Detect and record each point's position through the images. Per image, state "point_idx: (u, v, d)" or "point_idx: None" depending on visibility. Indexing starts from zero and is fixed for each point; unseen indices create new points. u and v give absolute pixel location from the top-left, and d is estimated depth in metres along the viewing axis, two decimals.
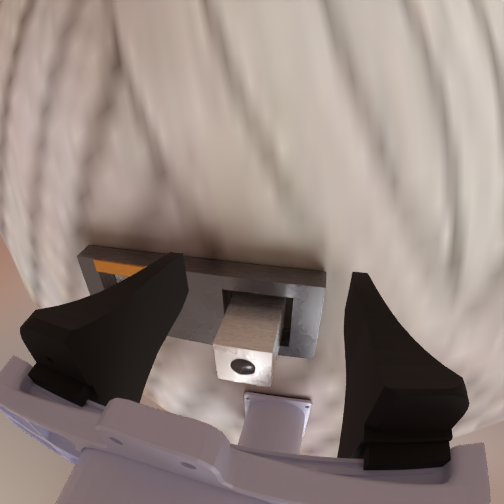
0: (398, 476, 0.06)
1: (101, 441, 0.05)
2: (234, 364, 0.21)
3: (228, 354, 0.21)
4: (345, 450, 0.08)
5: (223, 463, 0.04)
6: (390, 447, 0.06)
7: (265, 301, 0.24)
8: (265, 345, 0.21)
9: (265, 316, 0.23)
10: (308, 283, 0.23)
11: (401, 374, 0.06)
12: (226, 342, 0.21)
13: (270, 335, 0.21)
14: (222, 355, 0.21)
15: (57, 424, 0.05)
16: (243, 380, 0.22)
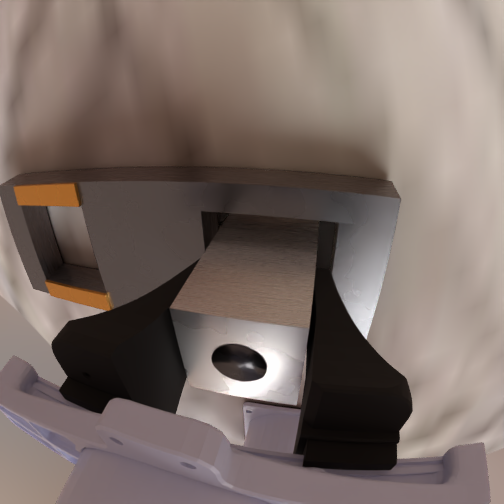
0: None
1: (101, 441, 0.05)
2: (220, 358, 0.10)
3: (205, 335, 0.09)
4: (295, 446, 0.08)
5: (223, 463, 0.04)
6: (330, 445, 0.06)
7: (284, 233, 0.13)
8: (291, 311, 0.09)
9: (286, 257, 0.11)
10: (368, 191, 0.11)
11: (336, 370, 0.06)
12: (200, 306, 0.09)
13: (300, 291, 0.10)
14: (193, 336, 0.09)
15: (57, 424, 0.05)
16: (240, 392, 0.11)
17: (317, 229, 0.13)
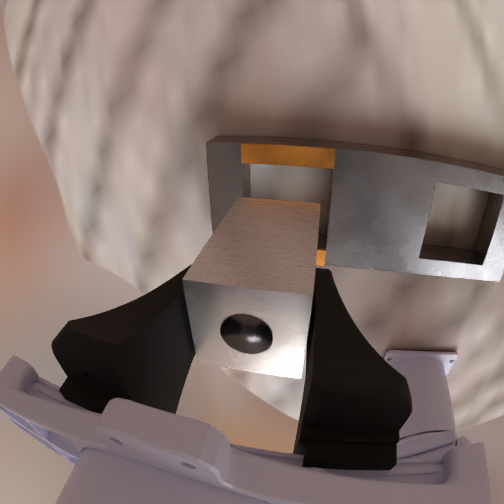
0: None
1: (101, 441, 0.05)
2: (229, 329, 0.10)
3: (215, 305, 0.10)
4: (295, 446, 0.08)
5: (223, 463, 0.04)
6: (330, 445, 0.06)
7: (287, 217, 0.14)
8: (296, 281, 0.10)
9: (289, 237, 0.12)
10: None
11: (336, 370, 0.06)
12: (211, 277, 0.10)
13: (304, 264, 0.10)
14: (203, 307, 0.10)
15: (57, 424, 0.05)
16: (246, 365, 0.11)
17: (318, 214, 0.14)
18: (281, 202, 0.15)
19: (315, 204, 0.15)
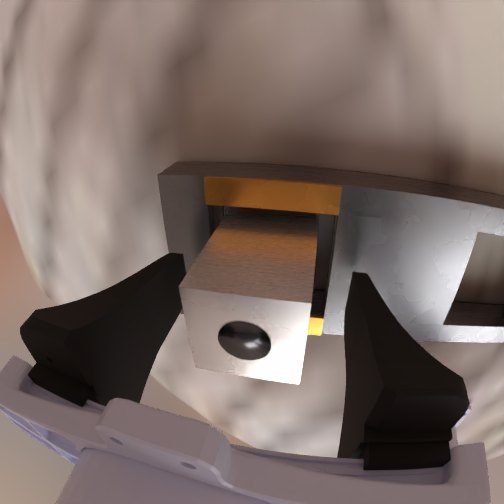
0: (398, 476, 0.06)
1: (101, 441, 0.05)
2: (226, 336, 0.10)
3: (213, 312, 0.10)
4: (345, 450, 0.08)
5: (223, 463, 0.04)
6: (390, 447, 0.06)
7: (286, 220, 0.13)
8: (294, 288, 0.09)
9: (288, 241, 0.12)
10: None
11: (401, 374, 0.06)
12: (208, 284, 0.10)
13: (302, 270, 0.10)
14: (201, 314, 0.10)
15: (57, 424, 0.05)
16: (245, 371, 0.11)
17: (317, 216, 0.14)
18: None
19: None
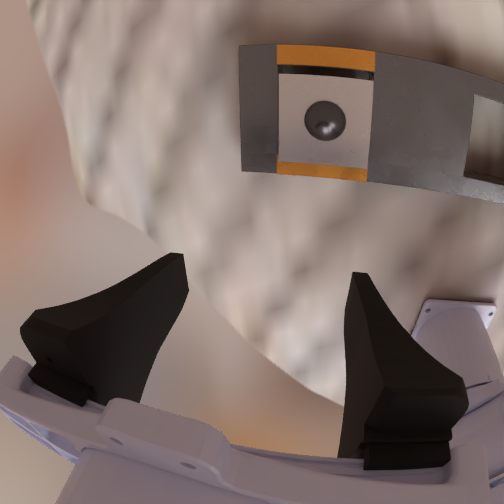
0: (398, 476, 0.06)
1: (101, 441, 0.05)
2: (312, 115, 0.13)
3: (303, 94, 0.12)
4: (345, 450, 0.08)
5: (223, 463, 0.04)
6: (390, 447, 0.06)
7: None
8: None
9: None
10: None
11: (402, 374, 0.06)
12: (299, 74, 0.12)
13: None
14: (293, 97, 0.12)
15: (57, 424, 0.05)
16: (322, 157, 0.13)
17: None
18: None
19: None
